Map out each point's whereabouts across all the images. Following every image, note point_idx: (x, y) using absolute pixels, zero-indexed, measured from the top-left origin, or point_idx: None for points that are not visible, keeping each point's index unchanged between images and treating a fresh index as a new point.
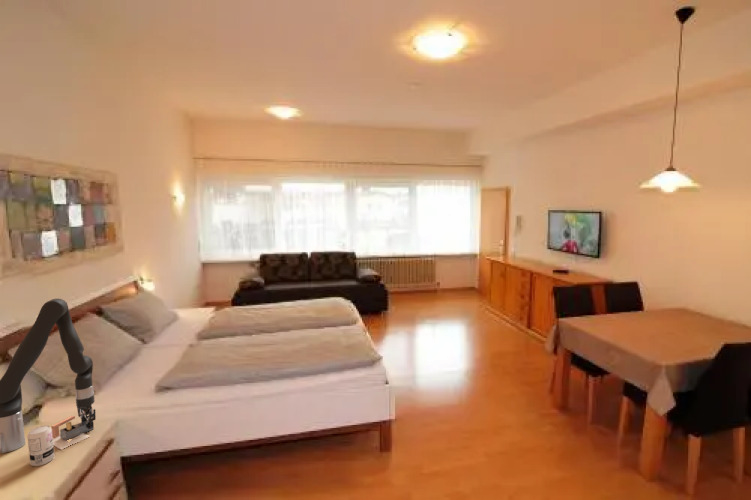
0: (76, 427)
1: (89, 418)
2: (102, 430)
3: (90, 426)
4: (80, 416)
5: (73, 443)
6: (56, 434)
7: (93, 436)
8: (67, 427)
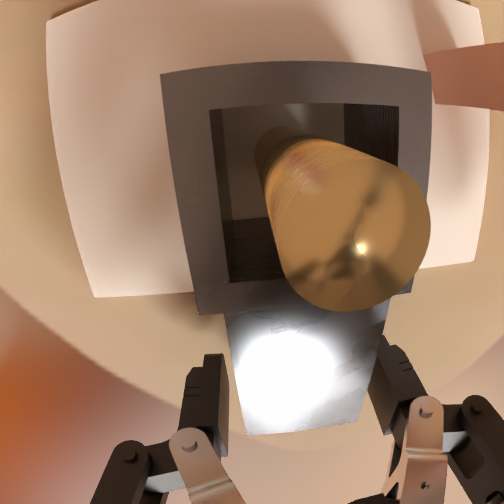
0: (250, 287)
1: (117, 491)
2: (153, 385)
3: (186, 385)
4: (438, 423)
5: (56, 138)
6: (449, 69)
7: (88, 313)
8: (291, 152)
